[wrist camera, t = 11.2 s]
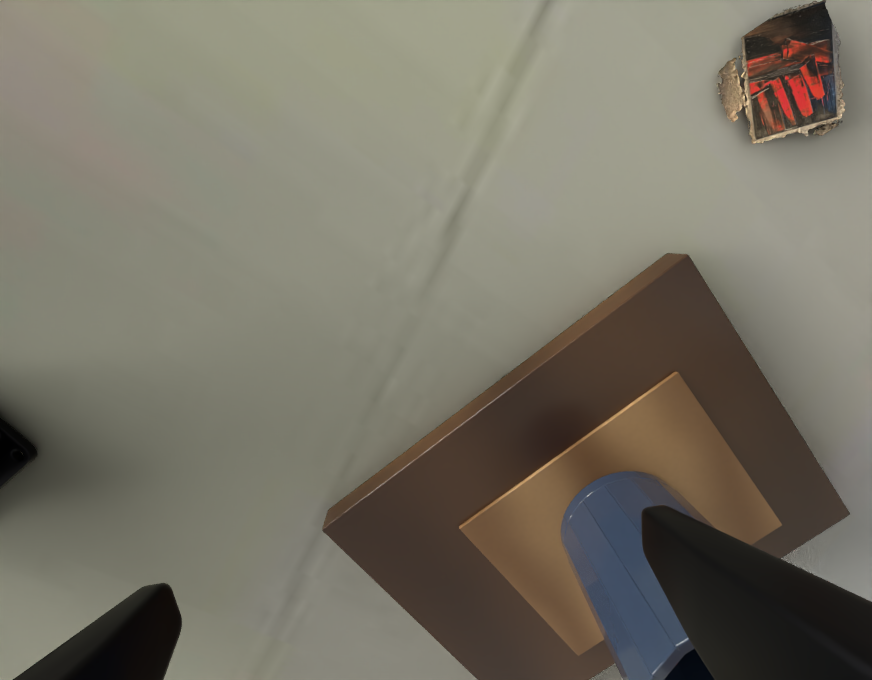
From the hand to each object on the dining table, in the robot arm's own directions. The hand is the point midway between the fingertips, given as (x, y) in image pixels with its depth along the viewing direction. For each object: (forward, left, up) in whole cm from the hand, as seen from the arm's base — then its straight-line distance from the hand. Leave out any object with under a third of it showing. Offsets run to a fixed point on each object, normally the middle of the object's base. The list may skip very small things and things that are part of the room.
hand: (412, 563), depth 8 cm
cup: (+3, -12, -10) cm, 16 cm away
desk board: (+2, -11, -12) cm, 16 cm away
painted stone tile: (+19, 0, -12) cm, 22 cm away
